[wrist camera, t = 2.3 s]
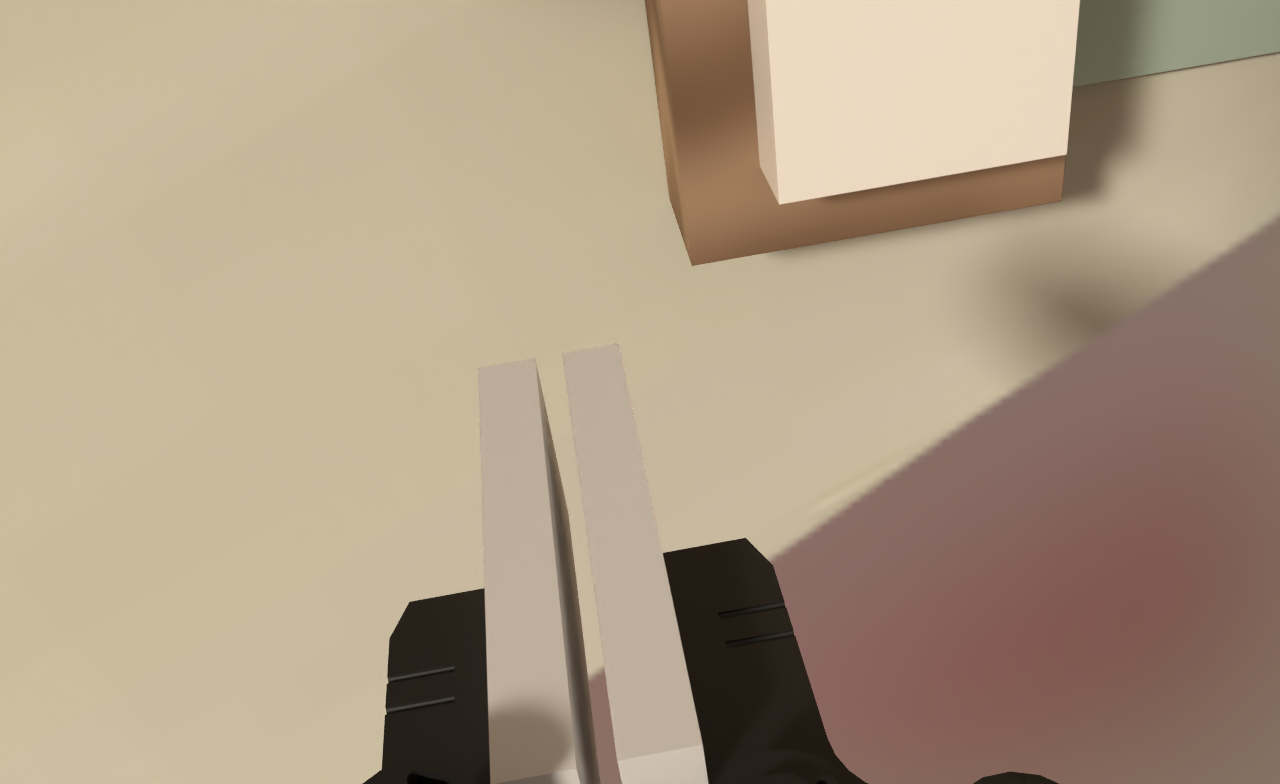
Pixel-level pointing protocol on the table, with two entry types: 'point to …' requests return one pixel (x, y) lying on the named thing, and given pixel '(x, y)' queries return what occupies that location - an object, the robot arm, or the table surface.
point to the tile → (907, 89)
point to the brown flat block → (729, 154)
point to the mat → (1169, 35)
